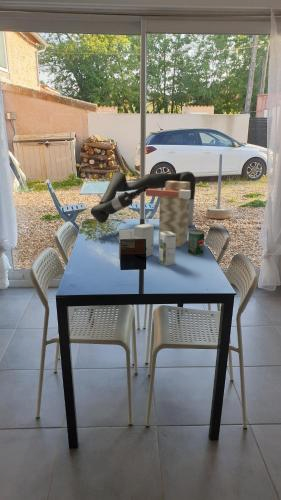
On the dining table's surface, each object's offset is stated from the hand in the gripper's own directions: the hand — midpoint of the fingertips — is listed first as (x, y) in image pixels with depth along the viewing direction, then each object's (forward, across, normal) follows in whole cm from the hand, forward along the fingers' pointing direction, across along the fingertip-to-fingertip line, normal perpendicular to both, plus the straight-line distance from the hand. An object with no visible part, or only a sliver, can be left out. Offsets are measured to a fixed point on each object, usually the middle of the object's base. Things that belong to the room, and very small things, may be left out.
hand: (145, 188), depth 196 cm
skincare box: (-8, +22, -29) cm, 37 cm away
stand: (-2, -3, -32) cm, 33 cm away
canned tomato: (+12, +9, -40) cm, 43 cm away
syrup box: (+5, +29, -36) cm, 46 cm away
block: (+8, -1, -9) cm, 13 cm away
